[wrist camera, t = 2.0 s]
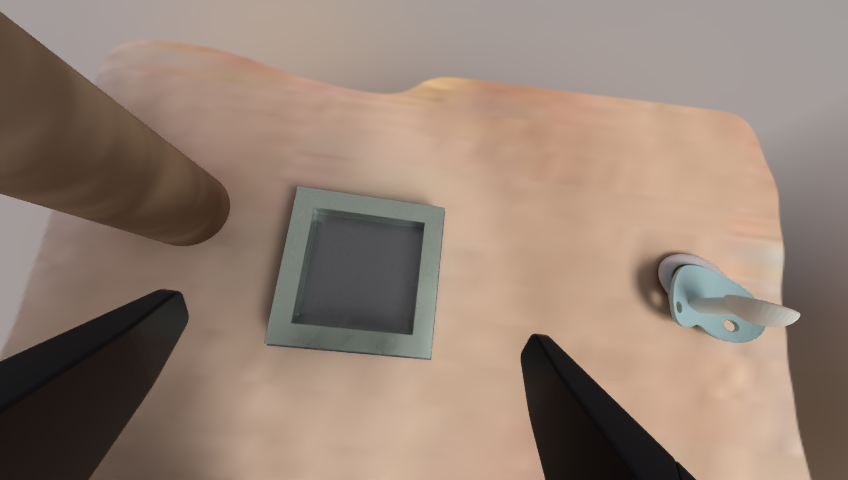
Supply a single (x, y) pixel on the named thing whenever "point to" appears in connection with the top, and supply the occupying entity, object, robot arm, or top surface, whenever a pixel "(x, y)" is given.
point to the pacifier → (717, 301)
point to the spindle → (94, 152)
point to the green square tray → (358, 276)
